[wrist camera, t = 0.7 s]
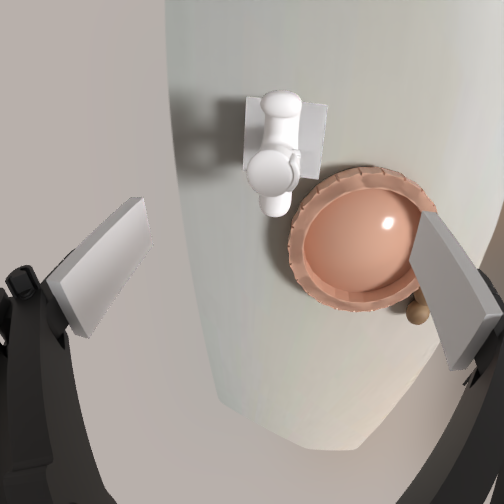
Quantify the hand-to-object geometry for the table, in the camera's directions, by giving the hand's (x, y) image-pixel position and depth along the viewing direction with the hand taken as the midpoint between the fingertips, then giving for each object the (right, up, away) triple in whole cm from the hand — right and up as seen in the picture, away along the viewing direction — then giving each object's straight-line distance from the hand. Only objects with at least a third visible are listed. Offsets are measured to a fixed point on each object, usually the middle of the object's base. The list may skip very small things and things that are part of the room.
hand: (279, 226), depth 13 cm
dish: (+12, 0, +20) cm, 24 cm away
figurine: (+2, +11, +15) cm, 19 cm away
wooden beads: (+23, -7, +23) cm, 34 cm away
